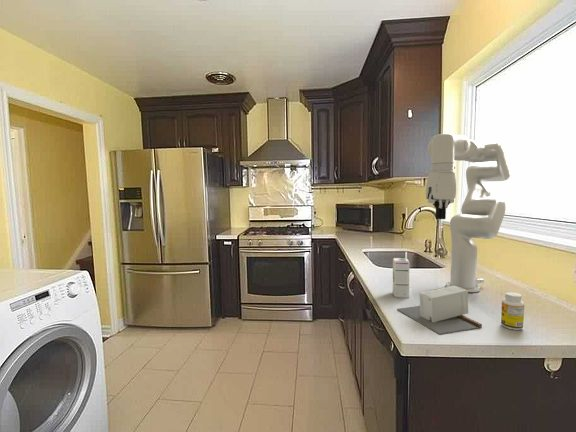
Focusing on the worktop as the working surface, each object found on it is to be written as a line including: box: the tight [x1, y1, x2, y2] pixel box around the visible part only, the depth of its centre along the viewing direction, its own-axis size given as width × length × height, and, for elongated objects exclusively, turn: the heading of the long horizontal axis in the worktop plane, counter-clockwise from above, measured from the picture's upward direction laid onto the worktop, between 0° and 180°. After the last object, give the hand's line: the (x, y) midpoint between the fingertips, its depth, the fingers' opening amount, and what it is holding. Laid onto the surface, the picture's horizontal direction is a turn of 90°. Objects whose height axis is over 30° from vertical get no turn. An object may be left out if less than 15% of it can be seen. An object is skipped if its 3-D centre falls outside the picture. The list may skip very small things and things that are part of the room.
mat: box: [396, 305, 479, 335], centre depth 102 cm, size 14×20×1 cm
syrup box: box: [392, 257, 410, 299], centre depth 125 cm, size 6×6×14 cm
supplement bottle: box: [500, 291, 525, 331], centre depth 95 cm, size 6×6×10 cm
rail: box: [456, 315, 483, 329], centre depth 104 cm, size 1×20×1 cm, turn 17°
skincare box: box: [419, 286, 469, 323], centre depth 102 cm, size 8×6×15 cm
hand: (440, 218), depth 116 cm, fingers closed
